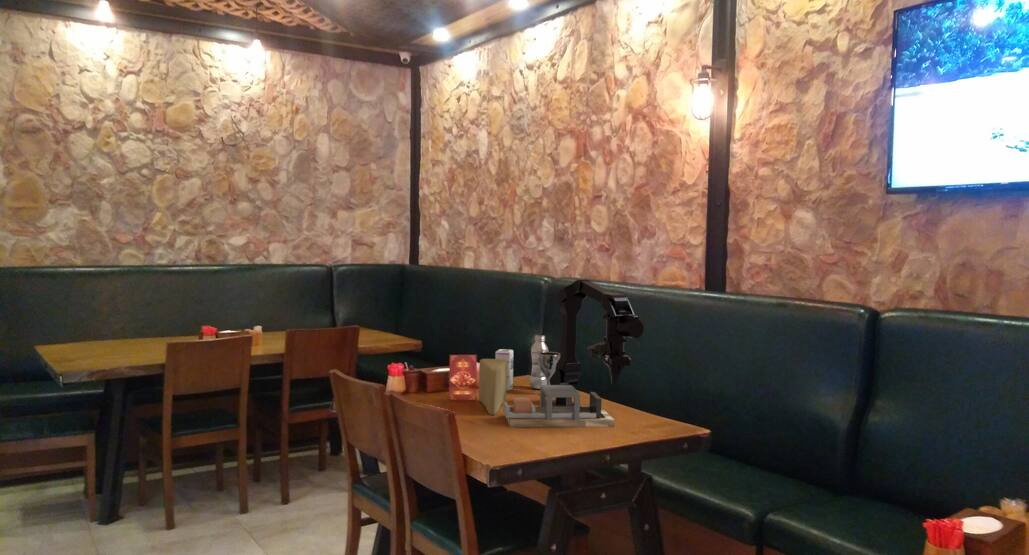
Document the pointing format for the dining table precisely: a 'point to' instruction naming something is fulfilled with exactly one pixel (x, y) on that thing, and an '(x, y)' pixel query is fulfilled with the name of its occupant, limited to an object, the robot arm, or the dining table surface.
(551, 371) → the wine glass
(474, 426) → the dining table surface
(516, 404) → the block
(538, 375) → the plastic bottle
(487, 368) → the cheese
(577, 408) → the tunnel
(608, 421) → the cream flat frame
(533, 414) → the frame
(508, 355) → the syrup box
